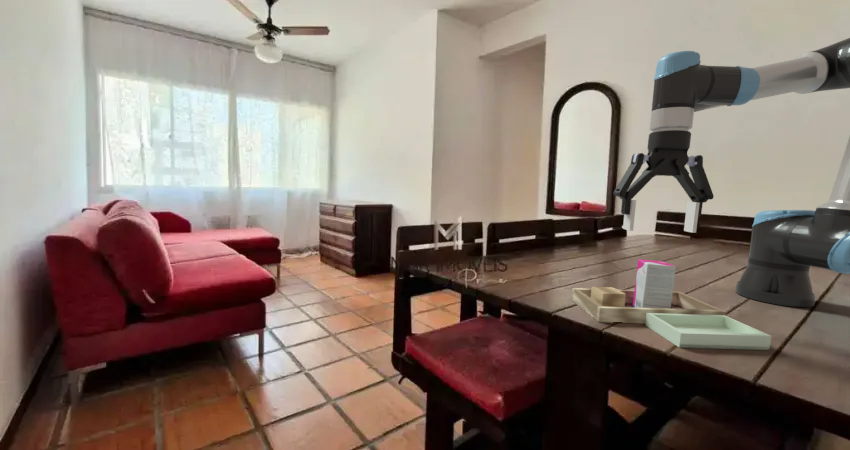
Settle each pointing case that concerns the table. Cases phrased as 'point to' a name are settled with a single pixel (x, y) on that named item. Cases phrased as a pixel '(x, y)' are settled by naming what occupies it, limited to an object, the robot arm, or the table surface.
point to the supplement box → (654, 284)
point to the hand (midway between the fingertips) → (658, 231)
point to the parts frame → (639, 314)
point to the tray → (707, 331)
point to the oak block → (608, 296)
